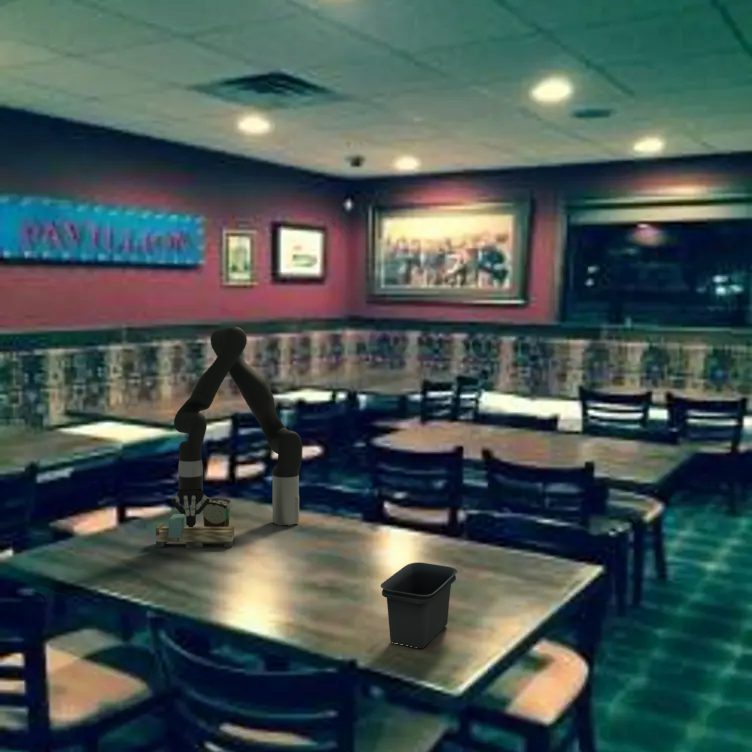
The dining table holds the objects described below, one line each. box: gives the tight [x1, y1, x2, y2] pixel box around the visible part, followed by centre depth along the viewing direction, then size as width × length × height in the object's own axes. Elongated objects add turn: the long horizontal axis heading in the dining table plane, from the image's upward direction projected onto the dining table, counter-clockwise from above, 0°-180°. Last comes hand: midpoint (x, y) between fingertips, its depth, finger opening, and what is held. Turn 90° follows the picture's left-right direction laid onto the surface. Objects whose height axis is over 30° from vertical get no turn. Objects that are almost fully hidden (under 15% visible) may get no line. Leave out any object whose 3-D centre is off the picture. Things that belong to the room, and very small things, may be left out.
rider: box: [168, 513, 187, 538], centre depth 273 cm, size 4×9×5 cm, turn 2°
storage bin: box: [380, 562, 459, 649], centre depth 204 cm, size 21×16×14 cm
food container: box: [200, 497, 233, 527], centre depth 293 cm, size 12×6×10 cm, turn 58°
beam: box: [155, 522, 235, 549], centre depth 273 cm, size 24×6×6 cm, turn 92°
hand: (190, 526), depth 273 cm, fingers closed
